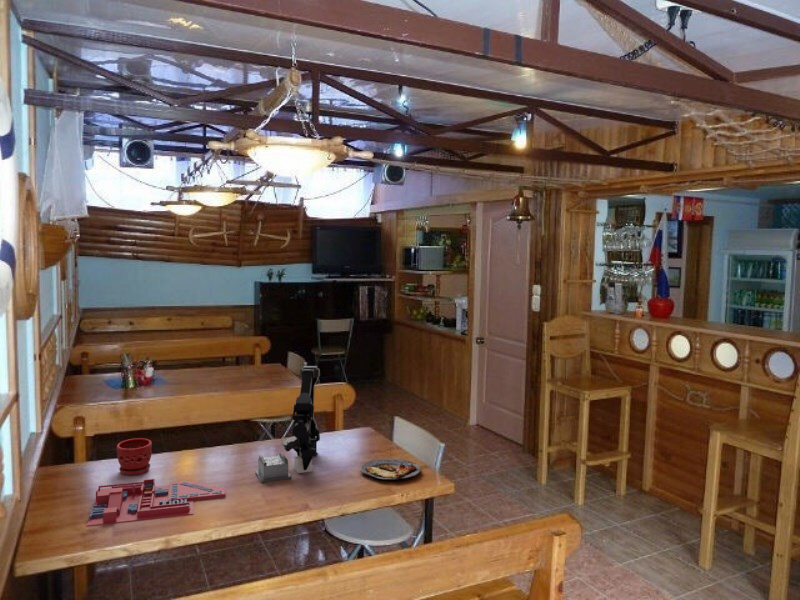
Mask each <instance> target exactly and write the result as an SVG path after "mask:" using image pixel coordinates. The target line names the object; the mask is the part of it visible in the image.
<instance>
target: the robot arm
mask: <svg viewBox="0 0 800 600" xmlns="http://www.w3.org/2000/svg"><path fill="white" fill-rule="evenodd" d="M320 376H321V370H320V368H318V366H317V365H303V367H302V368H299V378H301V385H300V392H299V396H297V397H296V398H295V399H296V400H295V403H294V404H293V412H292V421H296V422H295V424H294V427H293V428H292V433H293V436H292V437H289V438H287V439H285V440H283V441H282V442H281V443H282V444H281V445H282V446H283V448H284V450H285V452H290V451H291V450H294V451H295V452H296V457H297V456H300V457H301V458H302V462H303V468H304V470H307V468H308V466H309V464H310V462H311V460H312V461H313V458H314V457H317V455H318V452H317V450H318V449H317V442H319V441H320V440H321V433H320V430H319V427H318V424H317V422H316V419H315V414H314V413H315V386H316V384H317V382H318V381H319V377H320Z"/></svg>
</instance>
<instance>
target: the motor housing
mask: <svg viewBox="0 0 800 600" xmlns="http://www.w3.org/2000/svg"><path fill="white" fill-rule="evenodd" d="M257 460H258V461H257V467H258V468H257V469H255V470H254V472H255V474H256V476H257V478H258V480H259V481H260V483H261V484H262V483H263V484H264V483H270V482H278V481H279V482H280V481H285V480H292V475H291V474H290V472H289V460H288V459H287V457H286V455H284V453H283V452H279V453H278V455H275V456H274V455H273V456H270V455H268V456H265V457H263V455H262V454H259V455H258V459H257Z"/></svg>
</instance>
